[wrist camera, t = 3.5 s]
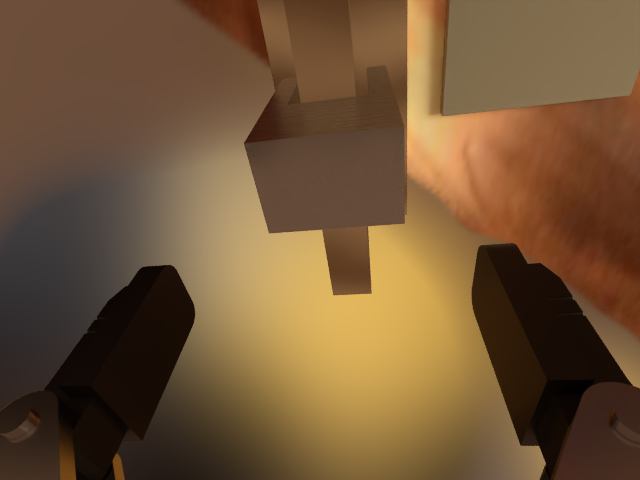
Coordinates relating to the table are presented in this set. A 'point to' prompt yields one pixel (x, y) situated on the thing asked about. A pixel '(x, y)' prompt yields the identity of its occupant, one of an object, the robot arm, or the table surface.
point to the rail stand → (339, 85)
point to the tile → (537, 52)
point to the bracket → (330, 158)
